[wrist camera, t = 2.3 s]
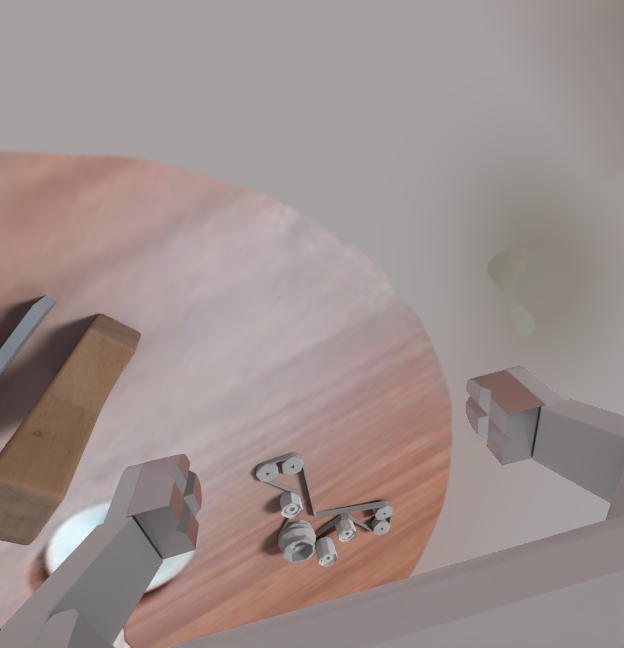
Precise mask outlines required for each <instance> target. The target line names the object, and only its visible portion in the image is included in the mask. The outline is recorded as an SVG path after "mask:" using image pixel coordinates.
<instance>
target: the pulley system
mask: <svg viewBox="0 0 624 648" xmlns="http://www.w3.org/2000/svg"><path fill="white" fill-rule="evenodd" d="M280 461H282V462H281V463H282V471H283V474H287V475H293V474H295V473H298V472H300V471H301V469H302V467H303V471H304V476H305V480H306V485H307V489H308V493H309V488H308V483H307V478H306V473H305V468H304V463H303V459H302V456H301V455H300V454H298V453H294V452H292V453H288V454H285V455H283V456H280V457H277V458H274V459H271V460H268V461H265V462H262V463H261V464H259V465H258V467H257V469H256V476H257V478H258V479H259V480H260V481H261V482H266V483H268V484H271V485H274V486H276V487H279V488H282V489H284V490H287V491H286V492H284V493H283V494H282V495H281V497H280V505H281V512H282V515H283V516H284V517H287V520H286V522H285V523H284V525H283V527H282V529H281V530H280V532H279V534H278V546H279V548H280V550H281V552H282V553H283V557H282V558H283V559H285V560H287V561H289V562H290V563H298V562H303V561H305V560H308V559H310V557H311V556H312V555H313V554H314V551H315V547H316V552H317V557H318V561H319V564H321V565H322V566H326V567H328V566H330V565H332V564H334V563H335V561H336V560H337V554H336V551H335V547H334V543H333V539H332V538H330V537H324V538H320V539H319V540H318V541H317V542H316V546H315V544H314V543H315V541H316V537H318V536H319V535H321V534H322V533H323V532H325V531H326V530H328V529H329V528H331V527H332V526H334V525H335V528H336V531H337V535H338V538H339V540H341V541H342V542H347V541H351V540H352V539H353V538H354V537H356V529H355V527H354V524H353V522H355V523H357V524H359V525H361V526H363V527H364V528H366V529H368V530H370V531H372V532H373V533H375V534H377V535H378V536H380V535H383V534H385V533H387V532H388V531H389V529H390V525H391V519H392V513H393V509H392V507H391V505H390V503H389V502H388V501H381V502H375V503H369V504H363V505H357V506H351V507H345V508H339V509H333V510H327V511H321V512H315V511H313V507H312V502H311V497H310V493H309V498H310V502H311V507H312V511H313V514H314V516H315V517H319V518H320V517H326V516H332V515H338V514H341V515H339V516H337V517H336V518H335V519H333V520H332V521H330V522H329V523H327V524H326V525H325V526H323V527H322V528H320V529H319V530H318V531H316V532H314V530H313V528H312V527H311V525H310V523H308V522H306V521H304V520H298V521H295V522H292V523H289V524H288V522H289V520H290V519H291V518H295V517H297V516H298V515H299V514H300V513H301V512H302V511H303V508H302V504H301V501H302V499H301V496H300V492H299V491H298V490H295V489H293V488H290V487H287V486H285V485H282V484H279V483H277V482H274V481H272V480H273V479H274V478H276V477H277V476H279V473H278V467H277V465H276V462H280ZM368 509H373V512H374V514H375V516H376V518H375V519H374V520H373V521H372V523H371V527H369V526H368V525H366V524H364V523H362V522H361V521H359V520H357V519H355V518H354V517H352V516H350V515H349V514H344V513H350V512H356V511H362V510H368ZM387 518H388V519H387ZM287 524H288V525H287ZM286 525H287V526H286Z"/></svg>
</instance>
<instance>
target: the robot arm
mask: <svg viewBox="0 0 624 648" xmlns="http://www.w3.org/2000/svg"><path fill="white" fill-rule="evenodd" d="M466 391H467V392H468V393H469V394H470V395H471V396H470V397H469V399H468V401H467V402H466V413H467V416H468V420H469V422H470V424H471V425H472V427H473V429H474V430H475V431H476V433H477V434H478V435H480V436H482V437H485V438H487V439H488V440H487V447H488V448H489V449H490V451H491V452H492V453H493V454H494V456H495V457H496V458H497V459H498V460H499V462H500V463H501V464H502V465H505V464H509V463H513V462H517V461H521V460H525V459H529V458H533V460H534V461H537V462H538V463H540V464H542V465H544V466H545V467H547V468H549V469H551V470H552V471H554V472H556V473H558V474H559V475H561V476H563V477H565V478H567V479H569V480H570V481H572V482H574V483H576V484H577V485H579V486H581V487H583V488H584V489H586V490H588V491H590V492H592V493H593V494H595V495H597V496H599V497H601V498H602V499H604V500H606V501H608V502H609V503H611V505H610V508H609V511H608V514H607V517H606V520H605V521H602V522H598V523H595V524H592V525H588V526H584V527H581V528H578V529H574V530H571V531H567V532H564V533H560V534H557V535H554V536H550V537H547V538H543V539H540V540H536V541H533V542H530V543H526V544H523V545H519V546H516V547H512V548H509V549H505V550H502V551H498V552H495V553H492V554H488V555H485V556H481V557H478V558H474V559H471V560H468V561H464V562H461V563H457V564H454V565H450V566H446V567H443V568H440V569H436V570H433V571H429V572H426V573H422V574H419V575H415V576H412V577H408V578H405V579H401V580H398V581H394V582H391V583H387V584H384V585H381V586H377V587H374V588H370V589H367V590H363V591H360V592H356V593H353V594H349V595H346V596H342V597H339V598H336V599H332V600H329V601H325V602H322V603H318V604H315V605H311V606H308V607H305V608H301V609H298V610H294V611H291V612H287V613H284V614H280V615H277V616H274V617H270V618H267V619H263V620H260V621H256V622H253V623H249V624H246V625H243V626H239V627H236V628H232V629H229V630H225V631H222V632H218V633H215V634H212V635H208V636H205V637H201V638H198V639H194V640H191V641H187V642H184V643H180V644H177V645H174V646H170V647H167V648H624V416H622V415H619V414H616V413H612V412H609V411H606V410H603V409H600V408H597V407H594V406H590V405H587V404H584V403H581V402H578V401H575V400H572V399H570V400H564V399H563V398H562V397H560V396H559V395H558V394H557V393H555V392H554V391H553V390H552V389H550V388H549V387H548V386H547V385H545V384H544V383H543V382H542V381H540V380H539V379H538V378H537V377H536V376H534V375H533V374H532V373H531V372H529V371H528V370H527V369H525V368H524V367H522V366H516V367H512V368H508V369H505V370H502V371H498V372H494V373H490V374H487V375H483V376H479V377H476V378H472V379H469V380H468V382H467V388H466ZM189 467H190V461H189V460H188V458H187V456H186V454H179V455H175V456H170V457H166V458H162V459H158V460H153V461H149V462H146V463H143V464H138V465H134V466H129V467H127V468H126V469H125V470H124V471H123V473H122V476H121V479H120V481H119V484H118V487H117V489H116V492H115V495H114V497H113V500H112V503H111V505H110V508H109V511H108V513H107V516H106V519H105V521H104V524H101V525H98V526H97V527H96V528H95V529H94V530H93V531H92V532H91V533H90V534H89V535H88V536H87V537H86V538H85V539H84V541H83V542H82V543H81V544H80V545H79V546H78V547H77V548H76V549H75V550H74V551H73V552H72V553H71V554H70V555H69V556H68V558H67V559H66V560H65V561H64V562H63V563H62V564H61V565H60V566H59V567H58V568H57V569H56V570H55V571H54V572H53V573H52V575H51V576H50V577H49V578H48V579H47V580H46V581H45V582H44V583H43V584H42V585H41V586H40V587H39V588H38V589H37V590H36V592H35V593H34V594H33V595H32V596H31V597H30V598H29V599H28V600H27V601H26V602H25V603H24V604H23V605H22V606H21V607H20V609H19V610H18V611H17V612H16V613H15V614H14V615H13V616H12V617H11V618H10V619H9V620H8V621H7V622H6V623H5V624H4V626H3V627H2V629H1V630H0V648H130V646H129V645H128V644H127V643H126V642H125V641H124V631H123V627H124V625H125V624H126V622H127V620H128V619H129V617H130V615H131V614H132V612H133V610H134V609H135V607H136V605H137V604H138V602H139V600H140V599H141V597H142V595H143V594H144V592H145V591H146V589H147V587H148V586H149V584H150V582H151V581H152V579H153V577H154V576H155V574H156V572H157V571H158V569H159V567H160V566H161V564H162V562H163V559H166V558H169V557H173V556H176V555H179V554H182V553H186V552H189V551H192V550H196V543H197V535H198V527H199V524H198V522H197V520H196V518H195V516H196V515H197V513H198V512H199V511H200V509H201V502H202V495H201V486H200V482H199V479H198V477H197V475H196V473H194V472H191V471H189Z"/></svg>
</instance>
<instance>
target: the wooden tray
mask: <svg viewBox="0 0 624 648" xmlns="http://www.w3.org/2000/svg"><path fill="white" fill-rule="evenodd" d="M56 302H57V301H55V300H53V299H51V298H50V297H48V296H44V297H43V298H42V299H40V300H39V301H38V302H37V303H35V304H34V305H33V306H32V307H31V309H30V310H29V311H28V313H27V314H26V315H25V317H24V318H23V319H22V321H21V322H20V323H19V325H18V326H17V327H16V329H15V330H14V331H13V333H12V334H11V335H10V337H9V338H8V340H7V341H6V342H5V344H4V345H3V346H2V348H1V349H0V376H1V375H2V373H3V372H4V371H5V369H6V368H7V367H8V366H9V364H10V363H11V362H12V360H13V359H14V358H15V356H16V355H17V354H18V352H19V351H20V350H21V348H22V347H23V346H24V344H25V343H26V342H27V340H28V339H29V338H30V336H31V335H32V334H33V332H34V331H35V330H36V328H37V327H38V326H39V324H40V323H41V322H42V320H43V319H44V318H45V316H46V315H47V314H48V312H49V311H50V310H51V308H52V307H53V306H54V304H55V303H56Z"/></svg>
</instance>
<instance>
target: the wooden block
mask: <svg viewBox="0 0 624 648" xmlns="http://www.w3.org/2000/svg"><path fill="white" fill-rule="evenodd" d="M140 336H141V334H140V333H139V332H137V331H135V330H133V329H131V328H129V327H127V326H125V325H123V324H121V323H119V322H117V321H115V320H113V319H112V318H110V317H108V316H106V315H104V314H99V315H97V316H96V318H95V319H94V320H93V322H92V323H91V324H90V326H89V327H88V328H87V330H86V331H85V333H84V334H83V336H82V337H81V339H80V340H79V342H78V343H77V345H76V346H75V348H74V349H73V351H72V352H71V354H70V355H69V357H68V358H67V360H66V361H65V363H64V364H63V365H62V367H61V368H60V370H59V371H58V373H57V374H56V376H55V377H54V378H53V380H52V381H51V383H50V384H49V386H48V387H47V388H46V390H45V391H44V393H43V394H42V395H41V397H40V398H39V400H38V401H37V402H36V404H35V405H34V406H33V408H32V409H31V411H30V412H29V413H28V415H27V416H26V418H25V419H24V420H23V422H22V423H21V425H20V426H19V427H18V429H17V430H16V432H15V433H14V434H13V436H12V437H11V438H10V440H9V441H8V443H7V444H6V445H5V447H4V448H3V450H2V451H1V452H0V540H2V541H7V542H12V543H17V544H22V545H29V544H30V543H32V542H33V541H34V540H35V539H36V537H37V536H38V534H39V533H40V532H41V530H42V529H43V527H44V526H45V525H46V523H47V522H48V520H49V519H50V518H51V516H52V515H53V513H54V512H55V510H56V509H57V508H58V506H59V505H60V503H61V502H62V501H63V499H64V497H65V495H66V492H67V490H68V488H69V485H70V483H71V481H72V478H73V476H74V473H75V471H76V469H77V466H78V464H79V461H80V459H81V457H82V454H83V452H84V449H85V447H86V445H87V442H88V440H89V437H90V435H91V433H92V430H93V428H94V425H95V423H96V421H97V418H98V416H99V413H100V411H101V409H102V407H103V405H104V403H105V401H106V399H107V397H108V395H109V393H110V391H111V390H112V388H113V386H114V385H115V383H116V381H117V379H118V378H119V376H120V374H121V373H122V371H123V370H124V368H125V367H126V365H127V364H128V362H129V361H130V359H131V358H132V356H133V355H134V353H135V351H136V348H137V345H138V342H139V340H140Z"/></svg>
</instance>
